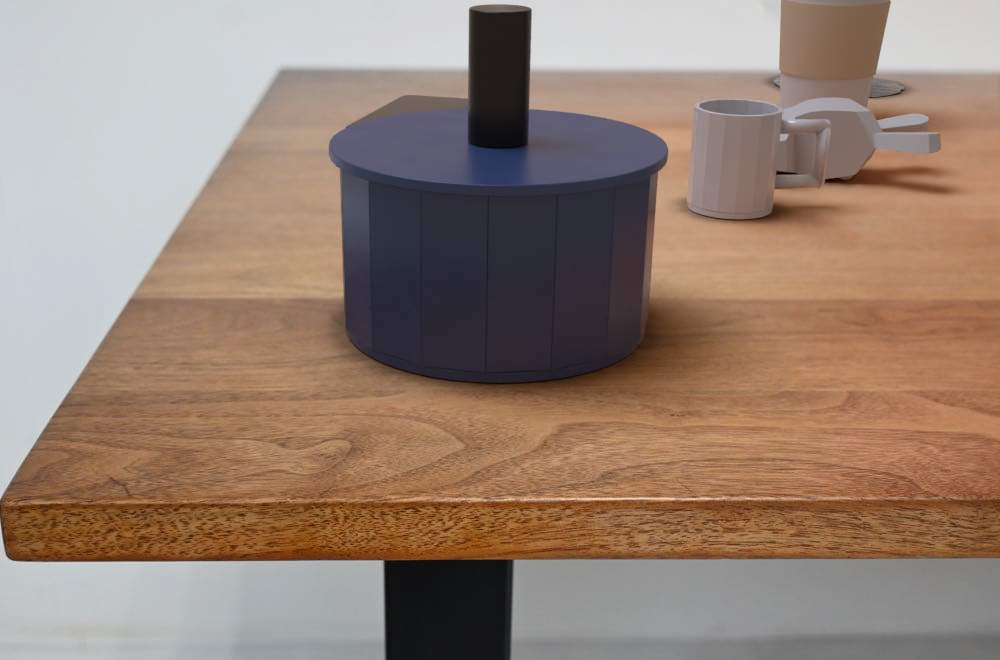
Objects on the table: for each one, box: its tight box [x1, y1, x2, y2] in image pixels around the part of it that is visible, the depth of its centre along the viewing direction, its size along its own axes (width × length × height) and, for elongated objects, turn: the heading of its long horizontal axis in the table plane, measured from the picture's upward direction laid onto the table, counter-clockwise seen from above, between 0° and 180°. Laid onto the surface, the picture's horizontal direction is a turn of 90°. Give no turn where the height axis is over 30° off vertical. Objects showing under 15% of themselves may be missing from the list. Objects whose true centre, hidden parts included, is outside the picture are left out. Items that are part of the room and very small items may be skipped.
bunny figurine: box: [777, 98, 942, 181], centre depth 88 cm, size 10×5×15 cm
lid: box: [328, 3, 669, 197], centre depth 57 cm, size 16×16×7 cm
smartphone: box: [344, 94, 468, 129], centre depth 103 cm, size 7×1×15 cm
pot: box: [339, 168, 659, 384], centre depth 60 cm, size 15×15×8 cm
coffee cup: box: [778, 0, 892, 109], centre depth 103 cm, size 9×9×15 cm
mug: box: [686, 98, 831, 220], centre depth 80 cm, size 9×5×6 cm, turn 97°
